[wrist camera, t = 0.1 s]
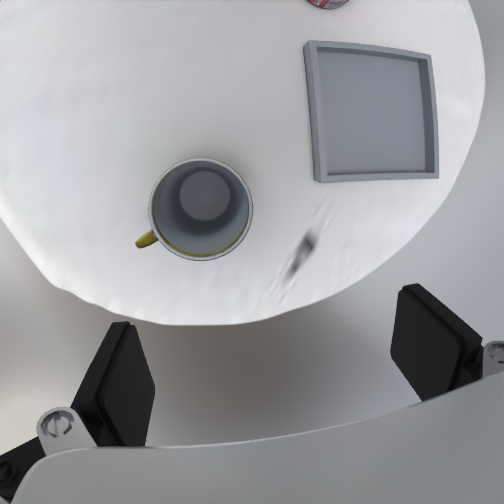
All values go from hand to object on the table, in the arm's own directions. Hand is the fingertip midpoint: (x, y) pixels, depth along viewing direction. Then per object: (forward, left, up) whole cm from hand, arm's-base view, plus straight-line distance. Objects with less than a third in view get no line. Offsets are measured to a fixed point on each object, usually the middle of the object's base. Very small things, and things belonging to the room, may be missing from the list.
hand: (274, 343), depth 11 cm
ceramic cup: (0, -5, -31) cm, 32 cm away
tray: (-10, +19, -31) cm, 38 cm away
